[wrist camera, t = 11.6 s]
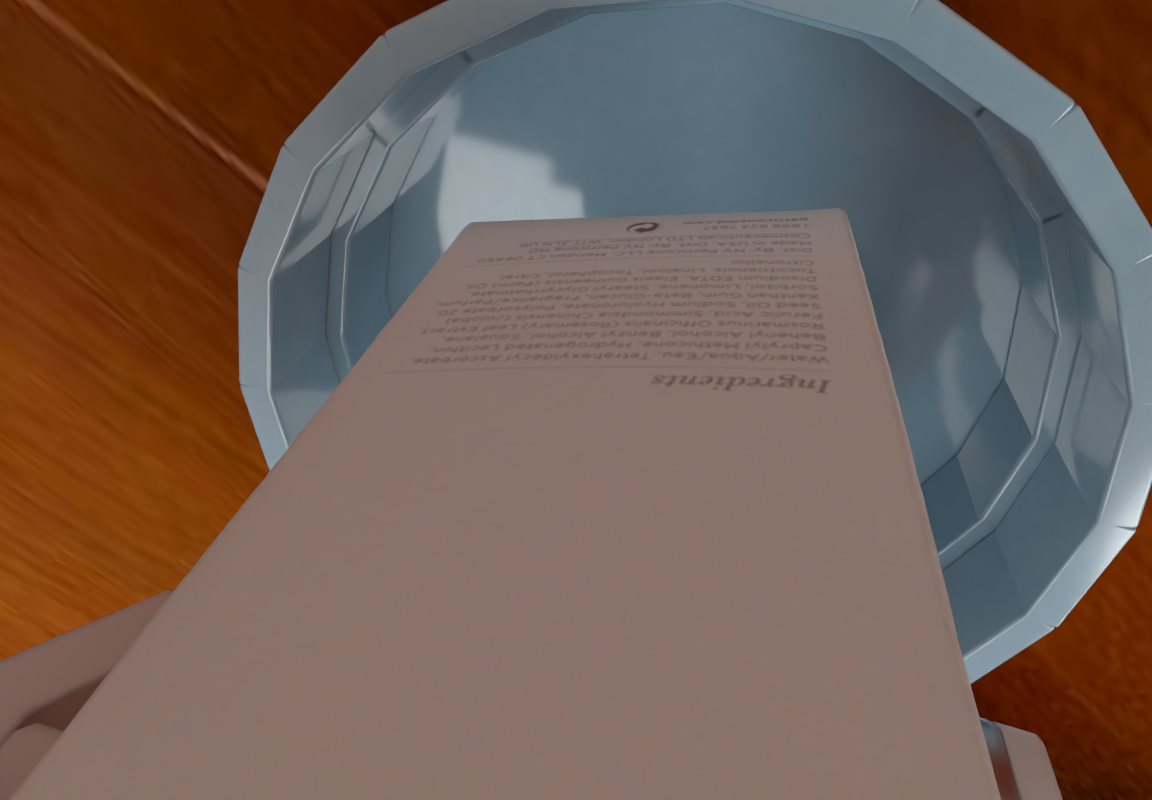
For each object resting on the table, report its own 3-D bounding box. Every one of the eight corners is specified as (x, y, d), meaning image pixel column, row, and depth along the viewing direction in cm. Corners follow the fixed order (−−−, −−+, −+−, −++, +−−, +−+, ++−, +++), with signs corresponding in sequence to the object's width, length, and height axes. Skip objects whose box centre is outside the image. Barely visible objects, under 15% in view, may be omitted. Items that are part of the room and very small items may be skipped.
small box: (467, 211, 13) (-210, 975, 4) (855, 196, 11) (1166, 1256, 3) (534, 598, 17) (282, 1394, 8) (824, 616, 16) (905, 1576, 7)
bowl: (1244, 54, 13) (1462, 134, 9) (874, 637, 21) (900, 821, 17) (389, -175, 14) (228, -198, 10) (340, 476, 22) (241, 617, 18)
